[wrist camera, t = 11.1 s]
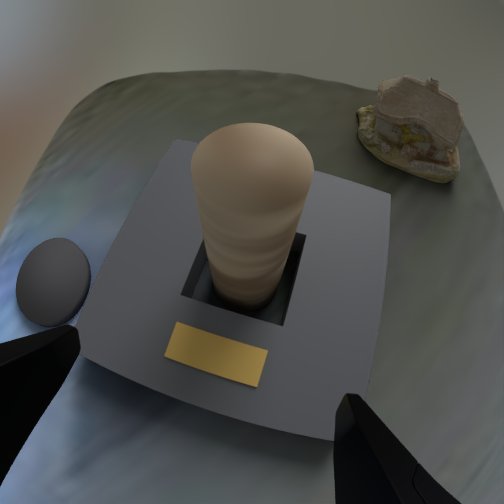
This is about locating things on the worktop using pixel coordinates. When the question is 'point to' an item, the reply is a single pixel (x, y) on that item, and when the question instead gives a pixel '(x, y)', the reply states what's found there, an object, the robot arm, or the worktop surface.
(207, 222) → the beech peg
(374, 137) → the ceramic model
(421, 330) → the worktop surface
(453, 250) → the worktop surface
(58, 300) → the pad
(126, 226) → the hole plate
